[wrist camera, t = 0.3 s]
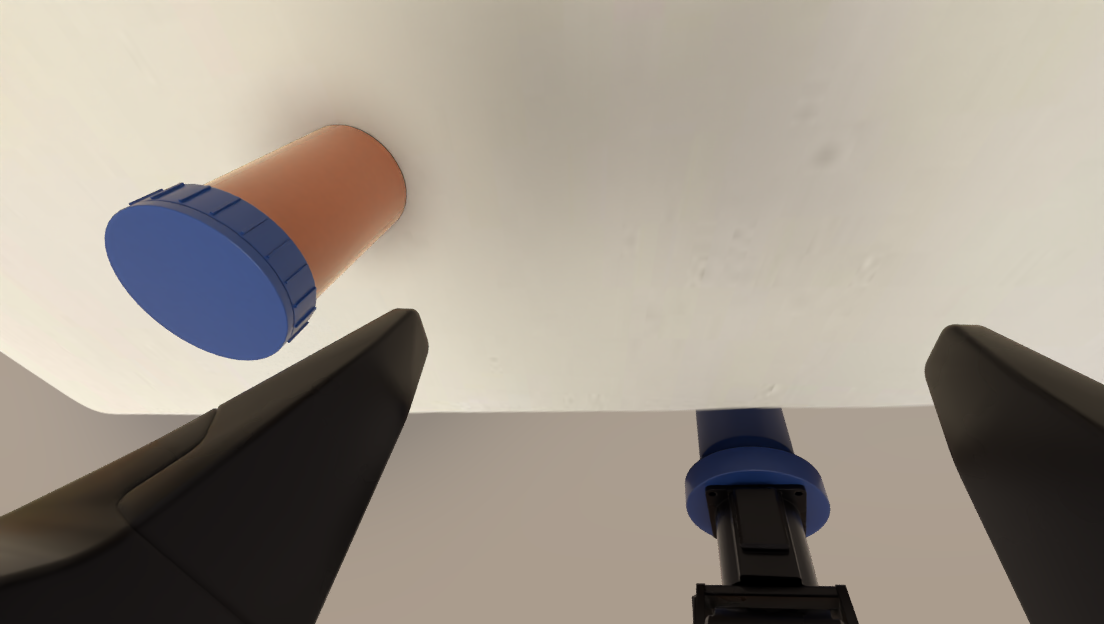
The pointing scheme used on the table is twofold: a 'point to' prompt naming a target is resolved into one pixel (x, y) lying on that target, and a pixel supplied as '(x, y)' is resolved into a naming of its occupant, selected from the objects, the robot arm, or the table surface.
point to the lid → (212, 270)
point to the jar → (325, 195)
